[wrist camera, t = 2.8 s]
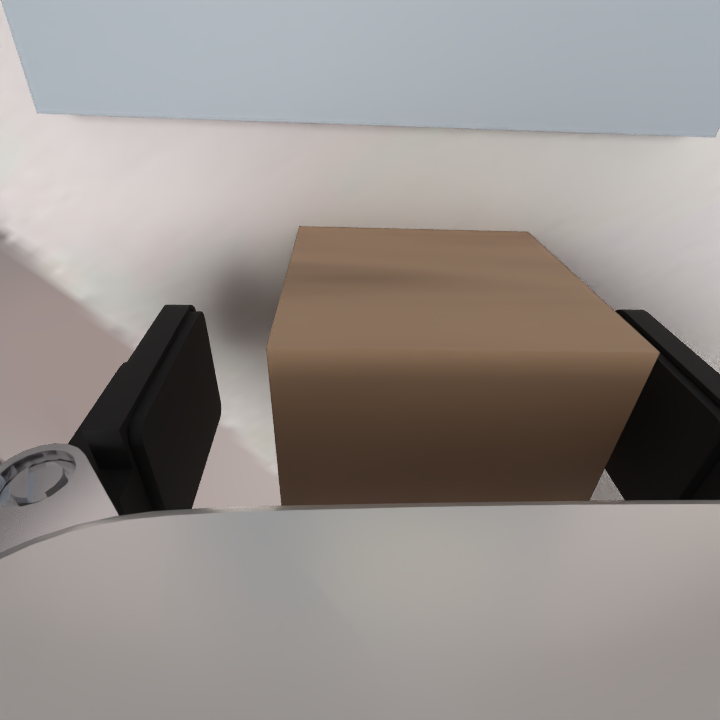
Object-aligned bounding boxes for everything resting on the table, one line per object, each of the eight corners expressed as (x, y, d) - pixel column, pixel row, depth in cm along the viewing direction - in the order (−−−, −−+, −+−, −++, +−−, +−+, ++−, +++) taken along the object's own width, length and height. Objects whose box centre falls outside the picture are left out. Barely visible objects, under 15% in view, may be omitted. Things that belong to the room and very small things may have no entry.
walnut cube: (484, 406, 15) (554, 574, 10) (307, 405, 15) (288, 577, 10) (526, 230, 12) (659, 352, 7) (299, 225, 12) (265, 347, 7)
